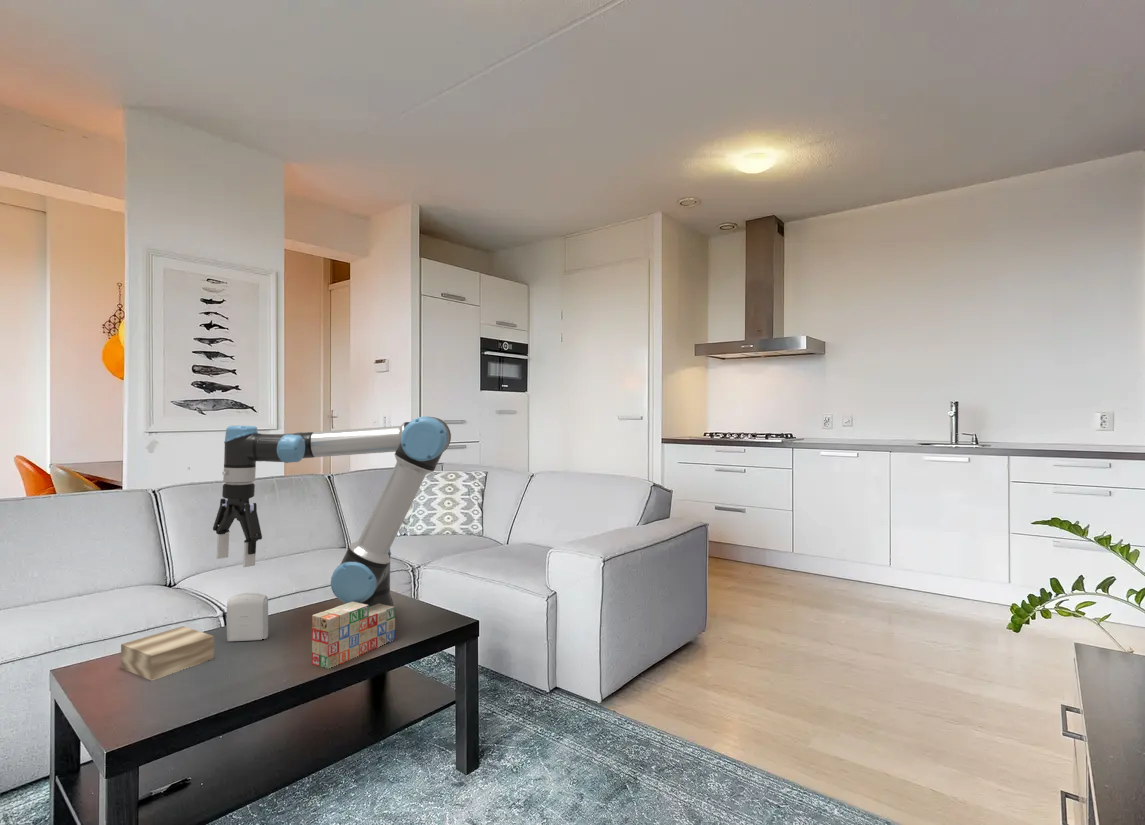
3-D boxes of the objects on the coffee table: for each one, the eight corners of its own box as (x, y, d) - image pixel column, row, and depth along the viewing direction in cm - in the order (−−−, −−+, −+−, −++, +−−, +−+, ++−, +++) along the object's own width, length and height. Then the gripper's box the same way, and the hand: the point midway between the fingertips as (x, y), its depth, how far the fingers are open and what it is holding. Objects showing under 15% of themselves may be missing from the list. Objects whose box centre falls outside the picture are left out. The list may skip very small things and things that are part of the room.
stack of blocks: (379, 636, 162) (379, 592, 162) (395, 641, 159) (395, 595, 159) (311, 664, 144) (311, 614, 144) (328, 670, 141) (328, 618, 141)
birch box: (213, 660, 146) (214, 636, 147) (151, 682, 134) (151, 655, 134) (182, 649, 153) (183, 626, 153) (120, 669, 141) (121, 644, 141)
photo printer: (223, 642, 157) (224, 596, 157) (231, 636, 161) (231, 591, 161) (264, 641, 158) (265, 595, 158) (270, 635, 162) (271, 590, 162)
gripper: (201, 479, 162) (197, 556, 161) (250, 488, 148) (246, 572, 148) (229, 478, 168) (225, 552, 168) (278, 486, 154) (275, 567, 154)
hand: (235, 562), depth 158 cm, fingers open, 13 cm apart
